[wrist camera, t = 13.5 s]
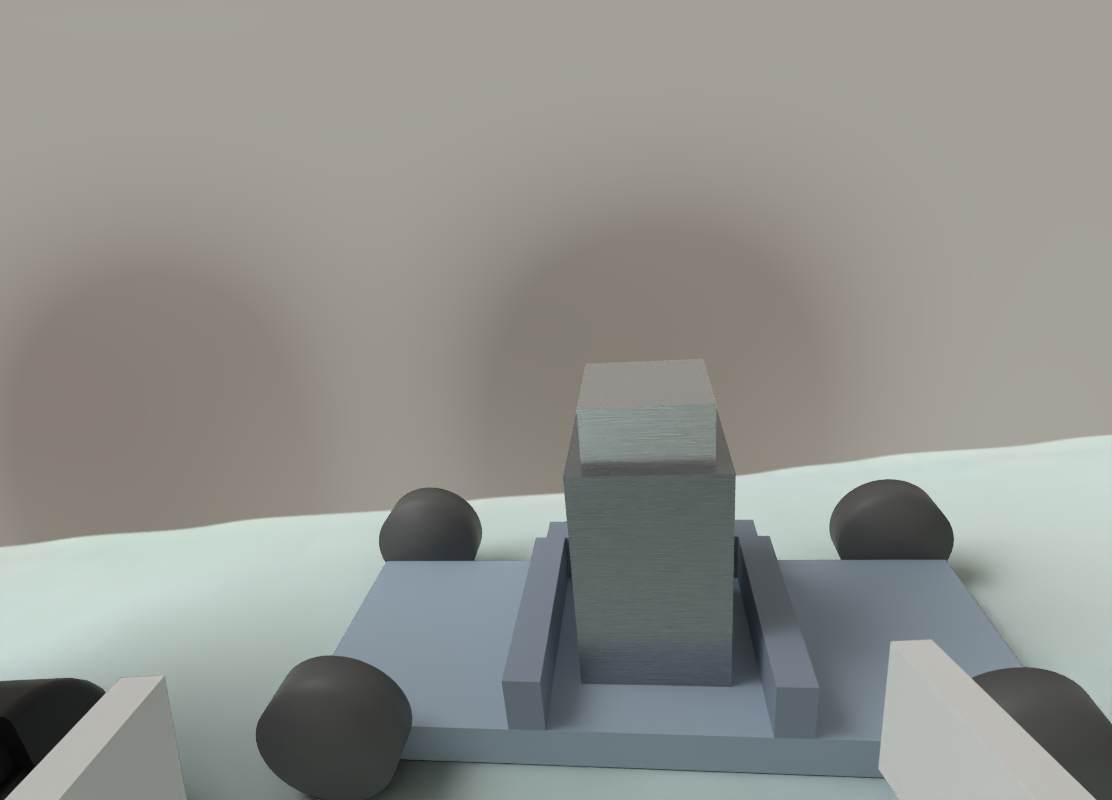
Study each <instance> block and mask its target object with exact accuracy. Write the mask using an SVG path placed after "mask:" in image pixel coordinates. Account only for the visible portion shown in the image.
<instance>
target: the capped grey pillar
mask: <svg viewBox="0 0 1112 800" xmlns="http://www.w3.org/2000/svg"><path fill="white" fill-rule="evenodd" d="M735 476H736V474H735V470H734V467H733V463H732V460H731V457H730V453H729V450H728V446H727V443H726V440H725V436H724V433H723V429H722V426H721V422H720V419H719V416H718V412H717V409H716V401H715V397H714V394H713V391H712V387H711V384H710V381H709V377H708V374H707V371H706V367H705V364H704V360H703V359H688V360H664V361H643V362H642V361H641V362H616V363H593V364H586V366H585V370H584V375H583V380H582V385H581V390H580V395H579V399H578V404H577V413H576V418H575V423H574V427H573V433H572V437H571V442H570V447H569V452H568V457H567V461H566V466H565V471H564V476H563V480H564V491H565V503H566V515H567V526H568V538H569V549H570V560H571V572H572V583H573V595H574V606H575V617H576V629H577V640H578V652H579V663H580V674H581V684H617V685H662V686H708V687H731V671H732V622H733V573H734V524H735Z"/></svg>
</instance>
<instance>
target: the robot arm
mask: <svg viewBox="0 0 1112 800" xmlns="http://www.w3.org/2000/svg"><path fill="white" fill-rule="evenodd" d="M878 769H879V770H880V772H881V773H882V775H883V776H884V778H885V779H886V781H887V782H888V784H889V785H890V787H891V788H892V790H893V791H894V793H895V794H896V796H897V797H898V799H899V800H1096V799H1095V798H1094V797H1093V796H1092V795H1091V794H1090V793H1089V792H1088V791H1087V790H1086V789H1085V788H1084V787H1083V786H1082V785H1081V784H1080V783H1078V782H1077V781H1076V780H1075V779H1074V778H1073V777H1072V776H1071V775H1070V774H1069V773H1068V772H1067V771H1066V770H1065V769H1064V768H1063V767H1062V766H1061V765H1060V764H1059V763H1058V762H1057V761H1056V760H1055V759H1054V758H1053V757H1052V756H1051V755H1050V754H1049V753H1048V752H1047V751H1046V750H1045V749H1044V748H1043V747H1041V746H1040V745H1039V744H1038V743H1037V742H1036V741H1035V740H1034V739H1033V738H1032V737H1031V736H1030V735H1029V734H1028V733H1027V732H1026V731H1025V730H1024V729H1023V728H1022V727H1021V726H1020V725H1019V724H1018V723H1017V722H1016V721H1015V720H1014V719H1013V718H1012V717H1011V716H1010V715H1009V714H1008V713H1007V712H1006V711H1004V710H1003V709H1002V708H1001V707H1000V706H999V705H998V704H997V703H996V702H995V701H994V700H993V699H992V698H991V697H990V696H989V695H988V694H987V693H986V692H985V691H984V690H983V689H982V688H981V687H980V686H979V685H978V684H977V683H976V682H975V681H974V680H973V679H972V678H971V677H970V676H969V675H967V674H966V673H965V672H964V671H963V670H962V669H961V668H960V667H959V666H958V665H957V664H956V663H955V662H954V661H953V660H952V659H951V658H950V657H949V656H948V655H947V654H946V653H945V652H944V651H943V650H942V649H941V648H940V647H939V646H938V645H937V644H936V643H935V642H934V641H933V640H932V639H930V640H909V641H891V643H890V653H889V663H888V674H887V684H886V694H885V704H884V715H883V725H882V735H881V745H880V756H879V766H878ZM5 800H187V798H186V792H185V787H184V781H183V776H182V770H181V764H180V759H179V753H178V748H177V742H176V737H175V731H174V726H173V720H172V714H171V709H170V703H169V698H168V692H167V687H166V681H165V676H145V677H124V678H120V679H119V680H118V681H117V682H116V683H115V684H114V685H113V686H112V687H111V688H110V689H109V690H108V691H107V692H106V693H105V694H104V696H103V697H102V698H101V699H100V700H99V701H98V702H97V703H96V704H95V705H94V706H93V707H92V708H91V709H90V710H89V711H88V712H87V713H86V714H85V716H84V717H83V718H82V719H81V720H80V721H79V722H78V723H77V724H76V725H75V726H74V727H73V728H72V729H71V730H70V731H69V732H68V733H67V734H66V736H65V737H64V738H63V739H62V740H61V741H60V742H59V743H58V744H57V745H56V746H55V747H54V748H53V749H52V750H51V751H50V752H49V753H48V754H47V756H46V757H45V758H44V759H43V760H42V761H41V762H40V763H39V764H38V765H37V766H36V767H35V768H34V769H33V770H32V771H31V772H30V773H29V774H28V776H27V777H26V778H25V779H24V780H23V781H22V782H21V783H20V784H19V785H18V786H17V787H16V788H15V789H14V790H13V791H12V792H11V793H10V794H9V796H8V797H7V798H6V799H5Z"/></svg>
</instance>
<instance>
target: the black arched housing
mask: <svg viewBox="0 0 1112 800" xmlns="http://www.w3.org/2000/svg"><path fill="white" fill-rule="evenodd" d="M105 693H106V692H105V691H104V690H103V689H102V688H101V687H99V686H97V685H95V684H93V683H91V682H89V681H87V680H81V679H74V678H56V679H35V680H14V681H0V800H5V799H6V798H7V797H8V796H9V794H10V793H11V792H12V791H13V790H14V789H15V788H16V787H17V786H18V785H19V784H20V783H21V782H22V781H23V780H24V779H25V778H26V777H27V776H28V774H29V773H30V772H31V771H32V770H33V769H34V768H35V767H36V766H37V765H38V764H39V763H40V762H41V761H42V760H43V759H44V758H45V757H46V756H47V754H48V753H49V752H50V751H51V750H52V749H53V748H54V747H55V746H56V745H57V744H58V743H59V742H60V741H61V740H62V739H63V738H64V737H65V736H66V734H67V733H68V732H69V731H70V730H71V729H72V728H73V727H74V726H75V725H76V724H77V723H78V722H79V721H80V720H81V719H82V718H83V717H84V716H85V714H86V713H87V712H88V711H89V710H90V709H91V708H92V707H93V706H94V705H95V704H96V703H97V702H98V701H99V700H100V699H101V698H102V697H103V696H104V694H105Z"/></svg>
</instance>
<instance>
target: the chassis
mask: <svg viewBox="0 0 1112 800" xmlns="http://www.w3.org/2000/svg"><path fill="white" fill-rule="evenodd" d="M830 536H831V539H832V542H833V544H834V546H835V548H836V550H837V552H838V554H839V556H840V558H841V560H777V558H776V555H775V552H774V549H773V546H772V543H771V540H770V537H769V536H757V532H756V529H755V526H754V522H753V520H735V524H734V573H733V622H732V671H731V687H708V686H662V685H617V684H581V674H580V663H579V652H578V640H577V629H576V617H575V606H574V595H573V583H572V572H571V560H570V549H569V538H568V526H567V522H550V525H549V530H548V535H547V538H536V541H535V545H534V549H533V553H532V557H531V561H474V559H475V556H476V554H477V551H478V548H479V546H480V543H481V539H482V527H481V523H480V520H479V517H478V516H477V514H476V512H475V511H474V509H473V508H472V507H471V506H470V504H469V503H468V502H466V501H465V500H464V499H463V498H461V497H460V496H458V495H456V494H454V493H452V492H450V491H447V490H444V489H439V488H421V489H417V490H414V491H411V492H410V493H407V494H406V495H405V496H403V497H402V498H401V499H400V500H399V501H398V503H397V504H396V505H395V507H394V508H393V510H392V512H391V513H390V515H389V516H388V518H387V519H386V521H385V523H384V524H383V526H382V528H381V531H380V536H379V546H380V551H381V554H382V556H383V559H384V560H385V562H386V563H385V565H384V567H383V569H382V570H381V572H380V574H379V576H378V577H377V579H376V581H375V583H374V584H373V586H372V588H371V589H370V591H369V593H368V595H367V596H366V598H365V600H364V602H363V603H362V605H361V607H360V609H359V610H358V612H357V614H356V616H355V617H354V619H353V621H352V623H351V624H350V626H349V628H348V630H347V631H346V633H345V635H344V636H343V638H342V640H341V642H340V643H339V645H338V647H337V649H336V650H335V652H334V654H333V656H320V657H315V658H311V659H308V660H306V661H304V662H302V663H300V664H298V665H297V666H295V667H294V668H293V669H292V670H291V671H290V672H289V674H288V675H287V676H286V678H285V680H284V681H283V683H282V684H281V686H280V687H279V689H278V691H277V692H276V694H275V695H274V697H273V698H272V700H271V702H270V703H269V705H268V706H267V708H266V709H265V711H264V713H263V714H262V716H261V718H260V719H259V721H258V724H257V728H256V742H257V746H258V749H259V752H260V754H261V756H262V758H263V759H264V761H265V763H266V764H267V765H268V767H269V768H270V769H271V770H272V771H273V772H274V773H275V774H276V775H277V776H278V777H279V778H280V779H282V780H283V781H284V782H286V783H287V784H288V785H290V786H292V787H293V788H295V789H297V790H299V791H301V792H303V793H305V794H308V795H310V796H313V797H316V798H320V799H324V800H363V799H366V798H369V797H372V796H374V795H376V794H378V793H379V792H381V791H382V790H383V789H384V788H385V787H386V786H387V785H388V784H389V783H390V781H391V780H392V778H393V776H394V773H395V771H396V768H397V765H398V763H399V760H400V759H409V760H436V761H462V762H488V763H514V764H540V765H566V766H592V767H619V768H645V769H671V770H697V771H723V772H749V773H776V774H802V775H828V776H854V777H880V778H884V776H883V775H882V773H881V772H880V770H879V769H878V766H879V756H880V745H881V735H882V725H883V715H884V704H885V694H886V684H887V674H888V663H889V653H890V643H891V641H909V640H930V639H932V640H933V641H934V642H935V643H936V644H937V645H938V646H939V647H940V648H941V649H942V650H943V651H944V652H945V653H946V654H947V655H948V656H949V657H950V658H951V659H952V660H953V661H954V662H955V663H956V664H957V665H958V666H959V667H960V668H961V669H962V670H963V671H964V672H965V673H966V674H967V675H969V676H970V677H971V678H972V679H973V680H974V681H975V682H976V683H977V684H978V685H979V686H980V687H981V688H982V689H983V690H984V691H985V692H986V693H987V694H988V695H989V696H990V697H991V698H992V699H993V700H994V701H995V702H996V703H997V704H998V705H999V706H1000V707H1001V708H1002V709H1003V710H1004V711H1006V712H1007V713H1008V714H1009V715H1010V716H1011V717H1012V718H1013V719H1014V720H1015V721H1016V722H1017V723H1018V724H1019V725H1020V726H1021V727H1022V728H1023V729H1024V730H1025V731H1026V732H1027V733H1028V734H1029V735H1030V736H1031V737H1032V738H1033V739H1034V740H1035V741H1036V742H1037V743H1038V744H1039V745H1040V746H1041V747H1043V748H1044V749H1045V750H1046V751H1047V752H1048V753H1049V754H1050V755H1051V756H1052V757H1053V758H1054V759H1055V760H1056V761H1057V762H1058V763H1059V764H1060V765H1061V766H1062V767H1063V768H1064V769H1065V770H1066V771H1067V772H1068V773H1069V774H1070V775H1071V776H1072V777H1073V778H1074V779H1075V780H1076V781H1077V782H1078V783H1080V784H1081V785H1082V786H1083V787H1084V788H1085V789H1086V790H1087V791H1088V792H1089V793H1090V794H1091V795H1092V796H1093V797H1094V798H1095V799H1096V800H1112V724H1111V723H1110V721H1109V720H1108V719H1107V718H1106V716H1105V715H1104V714H1103V713H1102V711H1101V710H1100V709H1099V708H1098V706H1097V705H1096V704H1095V703H1094V701H1093V700H1092V699H1091V698H1090V696H1089V695H1088V694H1087V693H1086V692H1085V691H1084V690H1083V688H1082V687H1081V686H1079V685H1078V684H1077V683H1075V682H1074V681H1072V680H1071V679H1069V678H1067V677H1065V676H1063V675H1060V674H1058V673H1055V672H1052V671H1048V670H1044V669H1038V668H1027V667H1023V666H1022V665H1021V663H1020V662H1019V661H1018V659H1017V658H1016V656H1015V655H1014V654H1013V652H1012V651H1011V649H1010V648H1009V647H1008V645H1007V644H1006V643H1005V641H1004V640H1003V638H1002V637H1001V636H1000V634H999V633H998V631H997V630H996V629H995V627H994V626H993V625H992V623H991V622H990V620H989V619H988V618H987V616H986V615H985V613H984V612H983V611H982V609H981V608H980V607H979V605H978V604H977V602H976V601H975V600H974V598H973V597H972V595H971V594H970V593H969V591H968V590H967V589H966V587H965V586H964V584H963V583H962V582H961V580H960V579H959V577H958V576H957V575H956V573H955V572H954V571H953V569H952V568H951V566H950V565H949V564H948V562H947V560H948V558H949V557H950V554H951V552H952V548H953V542H954V537H953V531H952V527H951V525H950V523H949V521H948V520H947V518H946V517H945V515H944V514H943V513H942V512H941V510H940V509H939V508H938V507H937V505H936V504H935V503H934V502H933V500H932V499H931V498H930V497H929V496H928V495H927V494H926V492H924V491H923V490H922V489H921V488H919V487H917V486H915V485H913V484H911V483H908V482H905V481H900V480H890V479H886V480H877V481H872V482H869V483H866V484H863V485H861V486H859V487H857V488H855V489H853V490H852V491H851V492H849V493H848V494H847V495H845V496H844V497H843V498H842V499H841V500H840V502H839V503H838V504H837V506H836V507H835V509H834V511H833V513H832V516H831V519H830Z"/></svg>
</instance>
